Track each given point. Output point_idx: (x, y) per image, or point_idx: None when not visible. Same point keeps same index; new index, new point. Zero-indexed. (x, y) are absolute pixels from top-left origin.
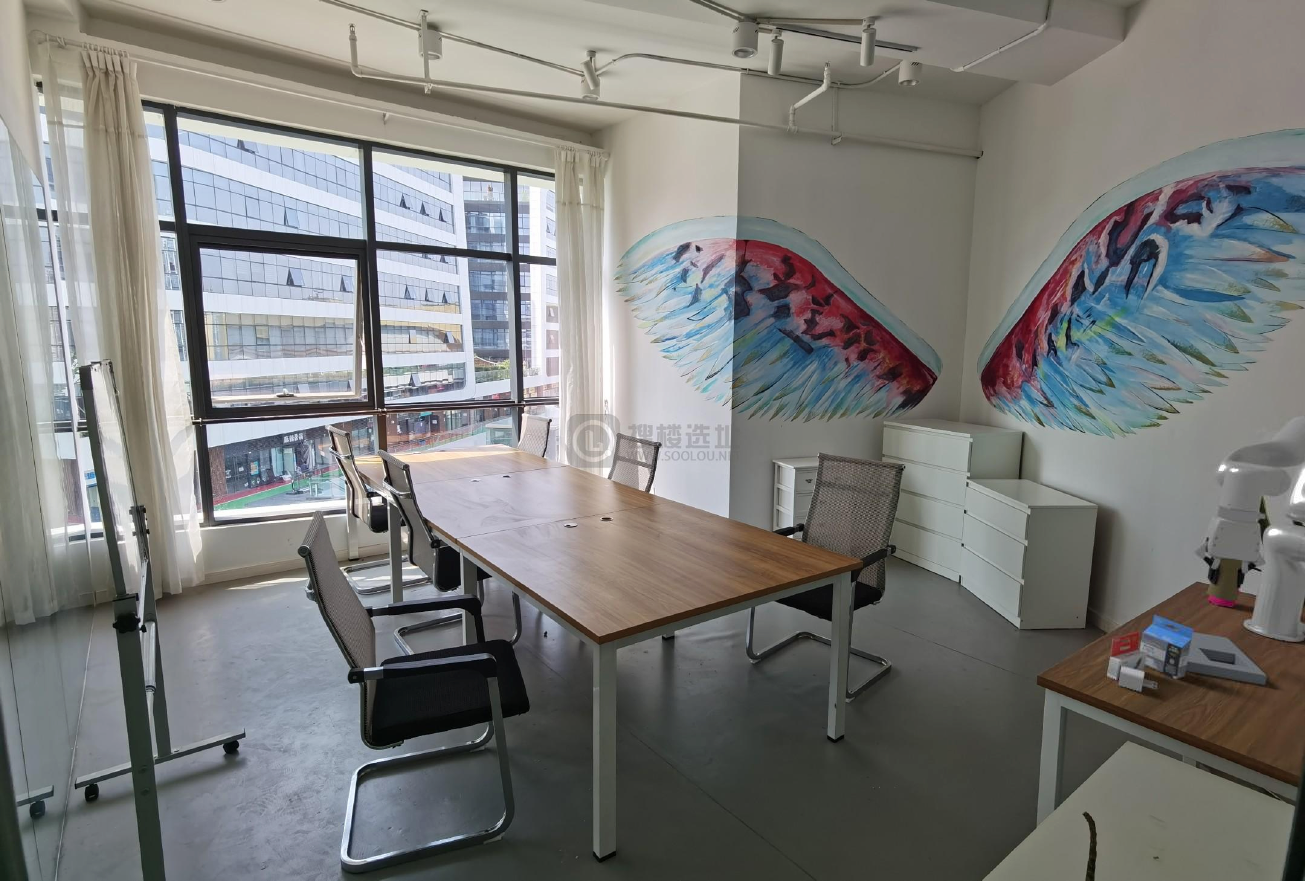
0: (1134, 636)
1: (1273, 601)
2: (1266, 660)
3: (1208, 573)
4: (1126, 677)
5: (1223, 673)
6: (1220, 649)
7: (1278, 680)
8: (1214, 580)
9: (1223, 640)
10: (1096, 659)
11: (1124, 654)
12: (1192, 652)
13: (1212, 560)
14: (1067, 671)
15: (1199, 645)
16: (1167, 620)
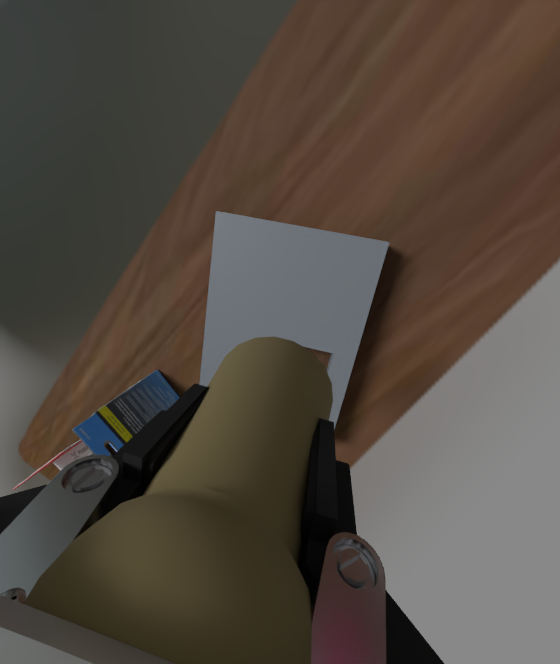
0: (60, 455)
1: None
2: (437, 309)
3: (144, 431)
4: None
5: None
6: (312, 334)
7: (377, 407)
8: None
9: (362, 268)
10: (79, 383)
11: (73, 450)
12: None
13: (49, 535)
14: (36, 430)
15: (271, 322)
16: (97, 454)
